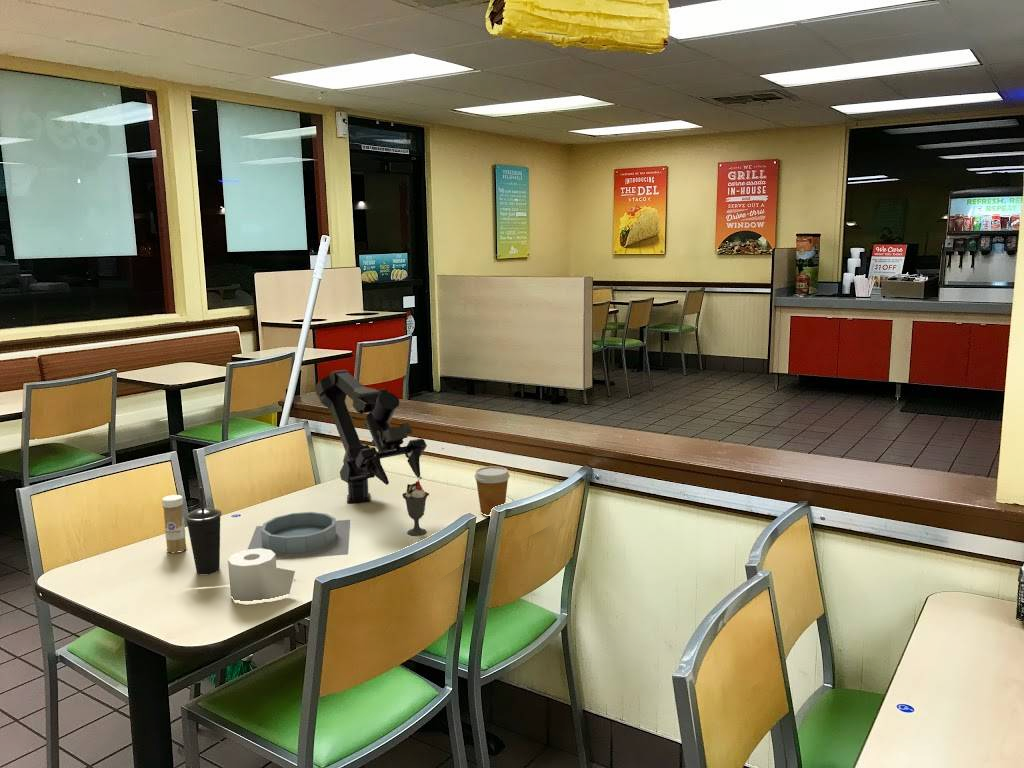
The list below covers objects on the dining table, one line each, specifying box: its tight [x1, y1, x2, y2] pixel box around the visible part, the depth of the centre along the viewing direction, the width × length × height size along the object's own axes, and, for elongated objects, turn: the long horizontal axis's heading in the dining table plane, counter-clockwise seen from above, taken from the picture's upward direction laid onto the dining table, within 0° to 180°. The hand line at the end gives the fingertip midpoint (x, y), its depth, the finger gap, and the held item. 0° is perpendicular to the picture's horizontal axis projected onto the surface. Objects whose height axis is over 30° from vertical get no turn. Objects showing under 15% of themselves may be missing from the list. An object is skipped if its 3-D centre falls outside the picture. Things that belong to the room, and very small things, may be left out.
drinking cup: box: [184, 486, 222, 575], centre depth 179 cm, size 8×8×20 cm
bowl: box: [261, 511, 337, 554], centre depth 198 cm, size 18×18×4 cm
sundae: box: [402, 476, 430, 537], centre depth 202 cm, size 7×7×15 cm
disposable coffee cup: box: [473, 465, 511, 515], centre depth 215 cm, size 10×10×12 cm
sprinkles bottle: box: [161, 494, 188, 553], centre depth 192 cm, size 5×5×14 cm
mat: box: [246, 519, 351, 561], centre depth 198 cm, size 24×24×1 cm
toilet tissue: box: [227, 548, 296, 601], centre depth 168 cm, size 9×13×9 cm
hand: (403, 480), depth 206 cm, fingers open, 9 cm apart
